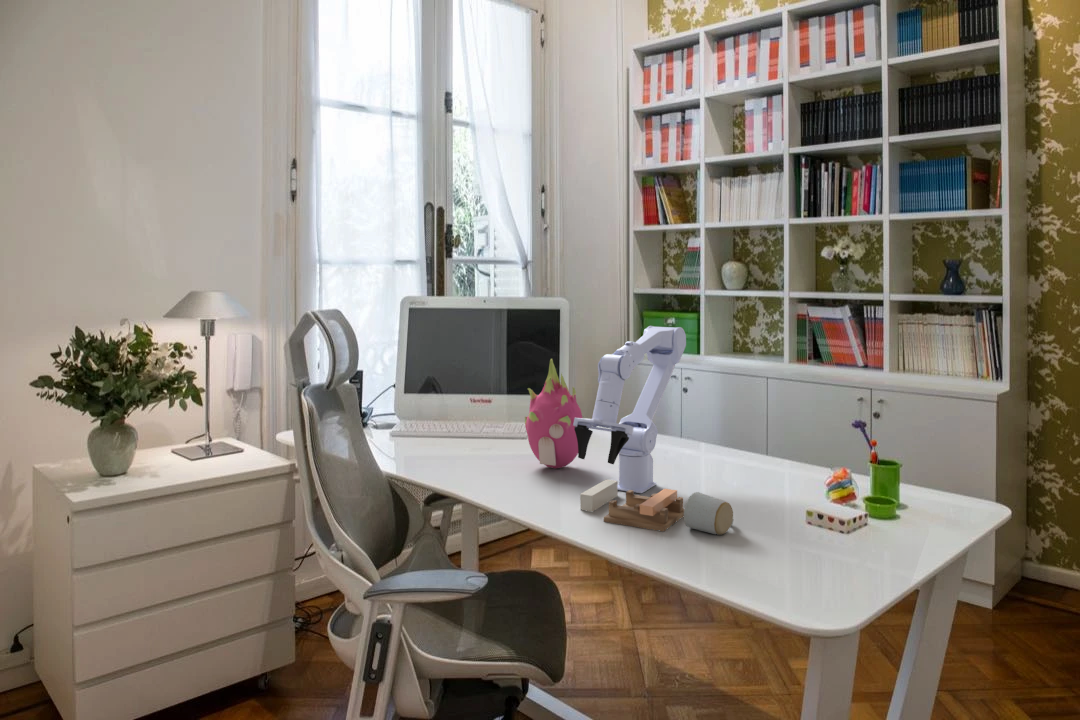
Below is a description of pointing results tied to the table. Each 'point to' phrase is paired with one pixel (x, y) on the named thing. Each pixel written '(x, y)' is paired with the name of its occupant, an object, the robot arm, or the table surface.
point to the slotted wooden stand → (632, 516)
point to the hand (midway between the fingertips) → (595, 461)
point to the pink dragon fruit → (553, 422)
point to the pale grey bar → (598, 495)
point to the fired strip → (658, 502)
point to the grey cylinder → (708, 514)
